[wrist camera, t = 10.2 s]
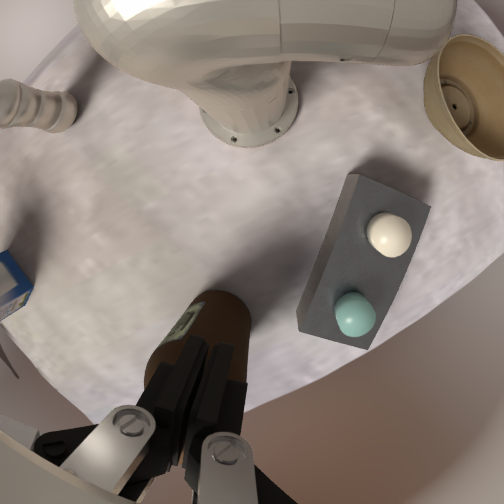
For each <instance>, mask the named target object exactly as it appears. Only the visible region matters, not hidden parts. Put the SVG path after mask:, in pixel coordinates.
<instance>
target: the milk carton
mask: <svg viewBox="0 0 504 504" xmlns="http://www.w3.org/2000/svg"><path fill="white" fill-rule="evenodd" d="M33 288H34V286H33V285H32V284H31V282H30V281H29V280H28V278H27V277H26V276H25V274H24V273H23V272H22V270H21V269H20V267H19V266H18V265H17V263H16V262H15V260H14V259H13V258H12V256H11V255H10V253H9V252H8V250H6V251H3V252H1V253H0V321H1V320H3V319H5V318H6V317H8V316H9V315H11V314H12V313H14V312H15V311H17V310H19V309H20V308H22V307H23V306H25V304H26V302H27V300H28V298H29V296H30V294H31V292H32V290H33Z"/></svg>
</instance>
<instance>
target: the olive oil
mask: <svg viewBox="0 0 504 504" xmlns="http://www.w3.org/2000/svg"><path fill="white" fill-rule="evenodd" d="M250 329H251V317H250V313H249V310H248V308H247V307H246V305H245V304H244V303H243V302H242V301H241V300H240V299H239V298H238V297H236V296H235V295H233V294H231V293H228V292H225V291H217V290H216V291H208V292H205V293H203V294H201V295H199V296H198V297H196V298H195V299H194V300H193V302H192V303H191V304H190V306H189V307H188V308H187V310H186V311H185V312H184V314H183V315H182V316H181V318H180V319H179V320H178V322H177V323H176V324H175V326H174V327H173V328H172V329H171V331H170V332H169V333H168V335H167V336H166V337H165V338H164V340H163V341H162V342H161V343H160V345H159V346H158V347H157V348H156V350H155V351H154V352H153V354H152V355H151V357H150V359H149V361H148V363H147V366H146V370H145V376H144V389H145V388H146V386H147V385H148V383H149V381H150V379H151V378H152V376H153V374H154V372H155V371H156V369H157V367H158V366H159V364H160V362H161V361H165V362H168V363H172V364H176V362H177V360H178V358H179V356H180V354H181V352H182V350H183V348H184V346H185V344H186V342H187V340H188V338H189V336H190V334H194V335H197V336H201V337H205V342H209V343H210V345H209V351H208V356H207V362H206V365H207V363H208V360H209V357H210V354H211V351H212V348H213V346H214V344H217V345H220V342H225V343H229V344H233V345H235V347H234V351H233V355H232V360H231V364H230V368H229V372H228V376H227V378H228V379H232V380H237V381H241V382H246V380H247V363H248V350H249V338H250ZM205 368H206V367H205ZM184 447H185V445H184ZM183 455H184V448H183V451H182V454H181V457H180V460H179V463H178V464H181V463H182V462H183Z"/></svg>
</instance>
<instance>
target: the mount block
mask: <svg viewBox="0 0 504 504" xmlns="http://www.w3.org/2000/svg"><path fill="white" fill-rule="evenodd" d="M430 208H431V206H429V205H427V204H425V203H423V202H421V201H419V200H416V199H414V198H412V197H410V196H408V195H406V194H404V193H402V192H399V191H397V190H395V189H393V188H391V187H388V186H386V185H384V184H381V183H379V182H377V181H374V180H372V179H370V178H367V177H365V176H363V175H360V174H347V177H346V180H345V183H344V186H343V188H342V191H341V194H340V197H339V200H338V203H337V206H336V209H335V211H334V214H333V217H332V220H331V222H330V225H329V228H328V231H327V233H326V236H325V239H324V241H323V244H322V247H321V249H320V252H319V255H318V257H317V260H316V262H315V265H314V268H313V270H312V273H311V275H310V278H309V280H308V283H307V285H306V288H305V290H304V293H303V295H302V298H301V300H300V302H299V305H298V307H297V310H296V314H297V322H298V329H299V331H300V332H303V333H307V334H310V335H314V336H317V337H321V338H324V339H328V340H332V341H335V342H339V343H343V344H347V345H350V346H354V347H358V348H362V349H366V350H368V349H369V347H370V345H371V343H372V341H373V339H374V338H375V336H376V334H377V332H378V330H379V328H380V326H381V324H382V322H383V320H384V318H385V316H386V314H387V312H388V310H389V308H390V306H391V304H392V302H393V300H394V298H395V295H396V293H397V291H398V289H399V287H400V284H401V282H402V280H403V278H404V275H405V273H406V271H407V268H408V266H409V264H410V261H411V259H412V256H413V254H414V251H415V249H416V246H417V244H418V241H419V239H420V236H421V233H422V231H423V228H424V225H425V222H426V219H427V217H428V214H429V211H430ZM379 213H390V214H393V215H396V216H398V217H401V218H403V219H404V220H405V221H406V222H407V223H408V224H409V226H410V228H411V232H412V239H411V243H410V245H409V247H408V249H407V250H406V251H405V252H404V253H403V254H401V255H400V256H397V257H387V256H384V255H383V254H381V253H380V252H379V251H378V250H376V249H375V248H374V247H373V246H372V245H371V244H370V243H369V241H368V238H367V227H368V224H369V222H370V220H371V219H372V218H373V217H374V216H375V215H377V214H379ZM350 292H357V293H361V294H362V295H364V296H365V297H366V298H367V300H368V301H369V303H370V304H371V306H372V307H373V309H374V311H375V313H376V320H375V323H374V326H373V327H372V329H371V330H370V331H369V332H367V333H366V334H364V335H362V336H359V337H350V336H347V335H345V334H344V333H343V332H342V331H341V330H340V327H339V325H338V322H337V319H336V317H335V314H334V308H335V305H336V303H337V301H338V300H339V299H340V298H341V297H342V296H343V295H345V294H347V293H350Z"/></svg>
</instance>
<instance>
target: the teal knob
mask: <svg viewBox="0 0 504 504" xmlns="http://www.w3.org/2000/svg"><path fill="white" fill-rule="evenodd" d="M334 314H335V317H336V319H337V322H338V325H339V327H340V330H341V331H342V332H343V333H344V334H345V335H347V336H350V337H359V336H362V335H364V334H366V333H367V332H369V331H370V330H371V329H372V327H373V326H374V323H375V320H376V313H375V311H374V309H373V307H372V306H371V304H370V303H369V301H368V300H367V298H366V297H365V296H364V295H362V294H361V293H357V292H350V293H347V294H345V295H343V296H342V297H341V298H340V299H339V300H338V301H337V303H336V305H335V308H334Z"/></svg>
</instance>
